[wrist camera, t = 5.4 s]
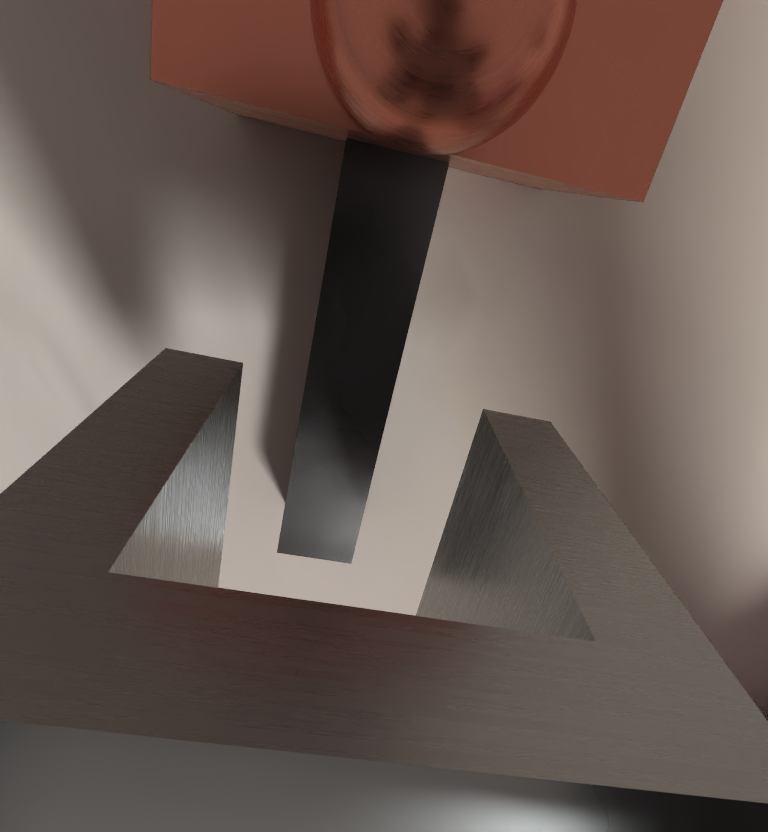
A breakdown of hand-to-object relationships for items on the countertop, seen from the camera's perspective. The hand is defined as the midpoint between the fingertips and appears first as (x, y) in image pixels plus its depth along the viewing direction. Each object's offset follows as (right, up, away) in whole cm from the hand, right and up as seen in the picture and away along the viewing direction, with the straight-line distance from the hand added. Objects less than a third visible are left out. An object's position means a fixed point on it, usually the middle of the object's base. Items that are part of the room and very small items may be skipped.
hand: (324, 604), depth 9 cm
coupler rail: (0, +6, +4) cm, 7 cm away
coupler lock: (0, +1, +1) cm, 1 cm away
